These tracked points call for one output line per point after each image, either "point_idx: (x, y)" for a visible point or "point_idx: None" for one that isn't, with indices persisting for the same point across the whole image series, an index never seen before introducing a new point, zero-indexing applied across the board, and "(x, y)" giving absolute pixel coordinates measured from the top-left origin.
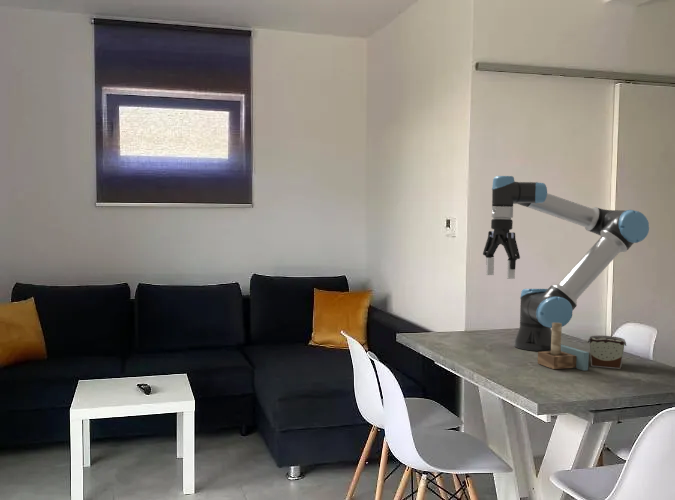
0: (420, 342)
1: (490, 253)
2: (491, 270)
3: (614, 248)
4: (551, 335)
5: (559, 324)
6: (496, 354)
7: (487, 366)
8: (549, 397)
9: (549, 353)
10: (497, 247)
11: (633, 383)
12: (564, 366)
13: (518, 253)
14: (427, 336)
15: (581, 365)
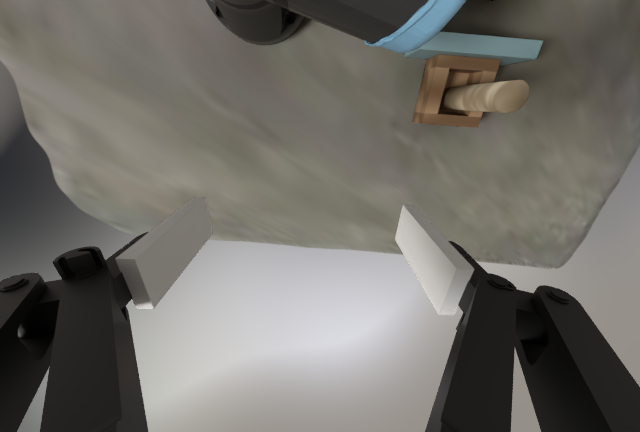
0: None
1: (127, 327)
2: (197, 223)
3: None
4: (476, 108)
5: (526, 99)
6: (310, 147)
7: (386, 220)
8: (553, 242)
9: (439, 101)
10: (116, 367)
11: (630, 43)
12: None
13: (593, 334)
14: (103, 181)
15: (505, 63)
